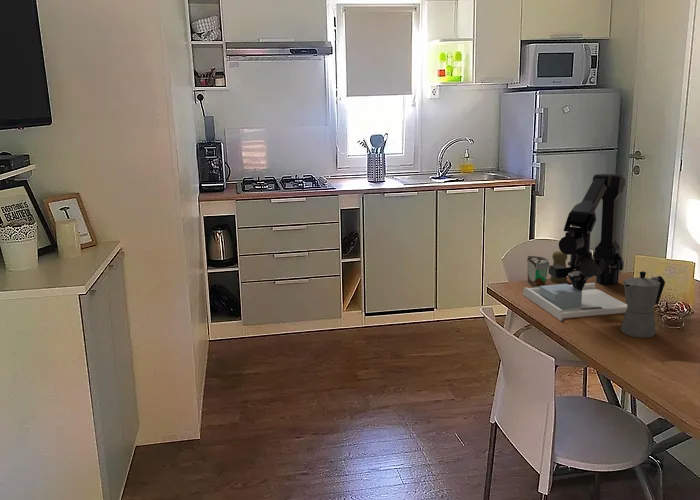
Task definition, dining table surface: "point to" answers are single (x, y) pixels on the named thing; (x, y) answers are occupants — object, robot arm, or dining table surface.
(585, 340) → the dining table surface
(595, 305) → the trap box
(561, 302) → the slate block
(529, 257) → the food container
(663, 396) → the dining table surface
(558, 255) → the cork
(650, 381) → the dining table surface
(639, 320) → the coffeepot
